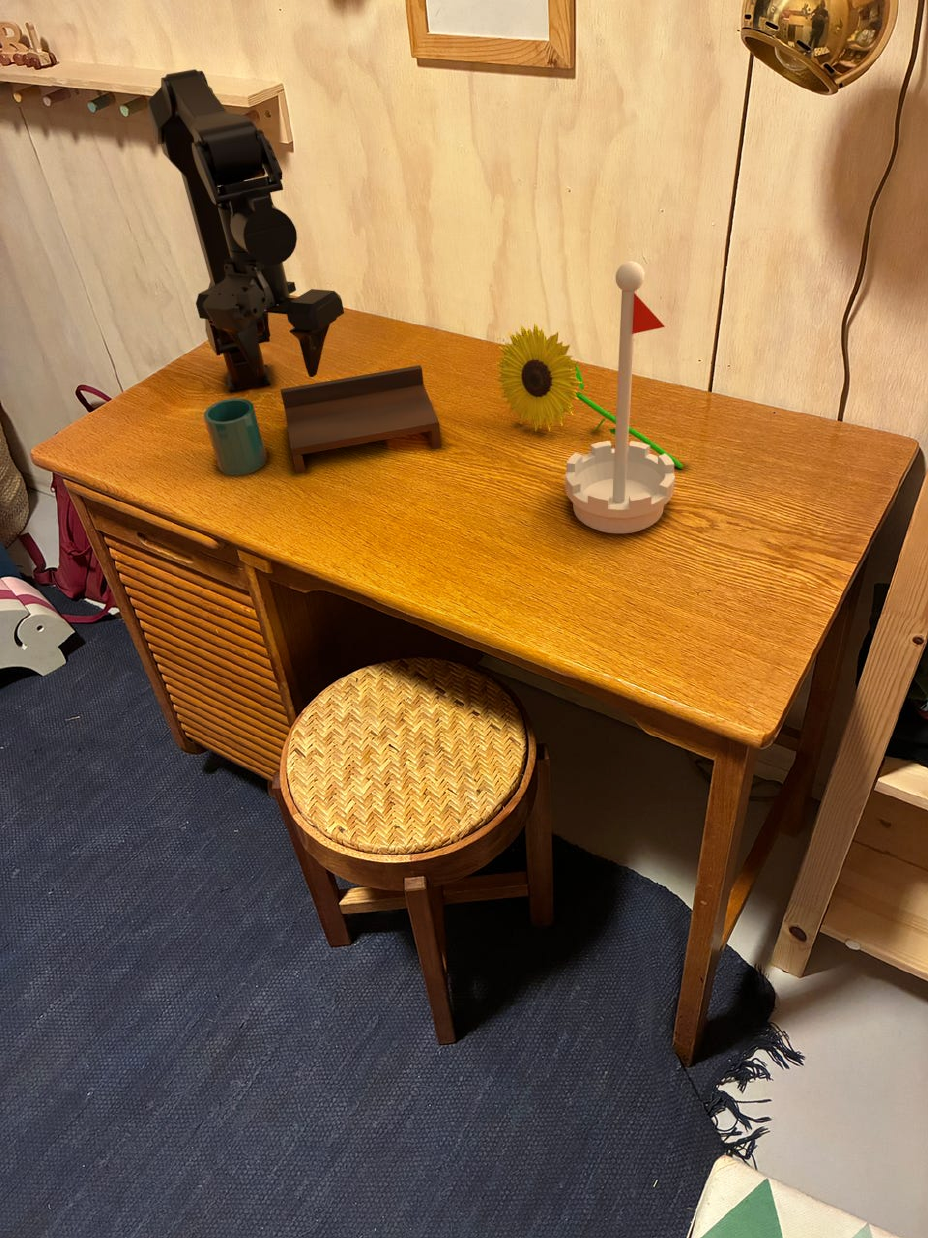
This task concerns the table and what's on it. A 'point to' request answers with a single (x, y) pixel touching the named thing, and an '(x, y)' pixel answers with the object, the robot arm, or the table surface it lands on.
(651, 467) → the flag stand
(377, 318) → the table surface
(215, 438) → the glazed pot
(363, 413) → the desk shelf
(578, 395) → the decorative plant
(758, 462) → the table surface
